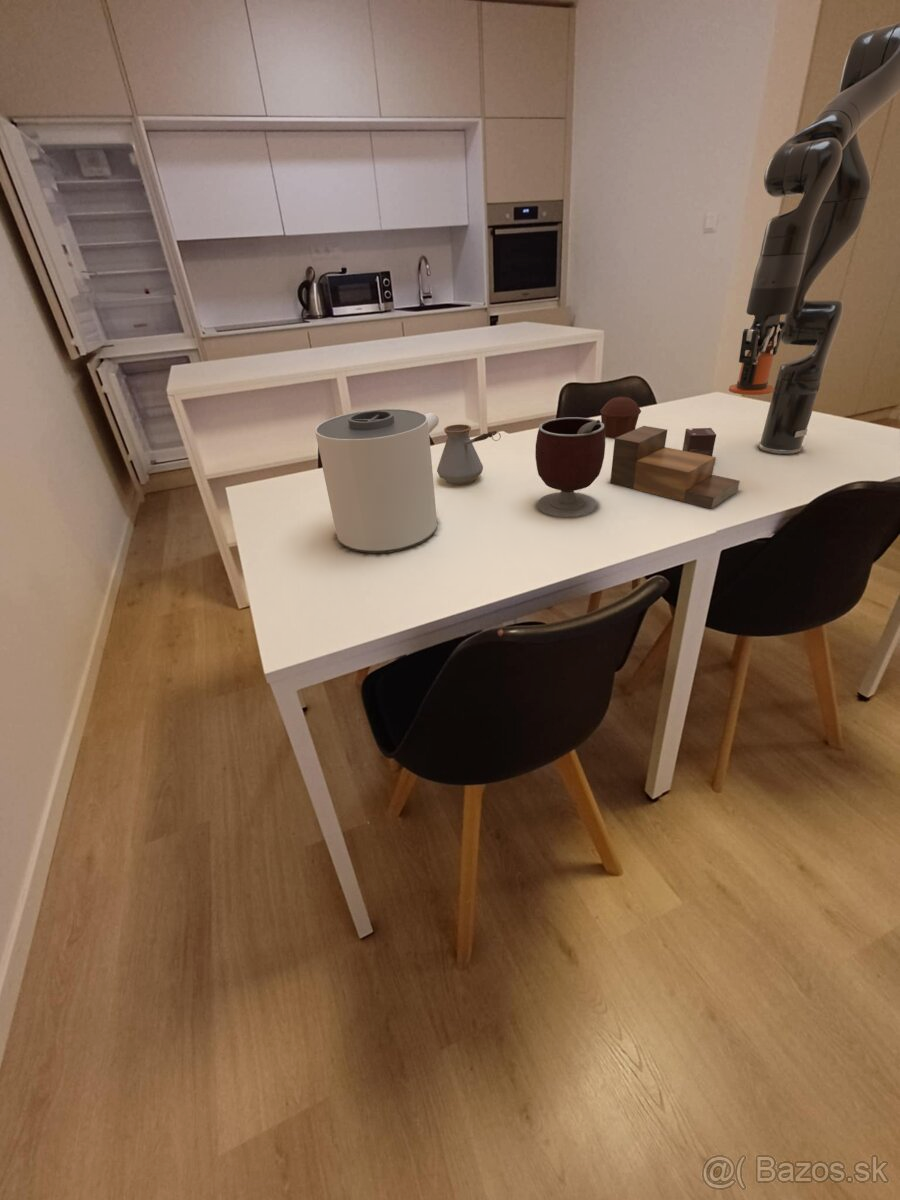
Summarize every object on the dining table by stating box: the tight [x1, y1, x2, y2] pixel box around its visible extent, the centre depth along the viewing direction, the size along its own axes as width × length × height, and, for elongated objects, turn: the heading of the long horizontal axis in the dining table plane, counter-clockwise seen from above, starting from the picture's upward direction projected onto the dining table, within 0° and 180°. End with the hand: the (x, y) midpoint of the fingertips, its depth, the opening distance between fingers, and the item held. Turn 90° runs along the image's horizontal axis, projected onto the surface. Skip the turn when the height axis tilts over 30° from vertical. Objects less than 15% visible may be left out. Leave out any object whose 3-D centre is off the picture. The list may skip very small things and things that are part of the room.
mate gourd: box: [534, 416, 606, 518], centre depth 108 cm, size 16×14×20 cm
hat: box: [728, 353, 775, 396], centre depth 104 cm, size 8×8×7 cm
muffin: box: [599, 396, 642, 439], centre depth 152 cm, size 12×11×10 cm
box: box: [681, 427, 717, 456], centre depth 129 cm, size 6×6×7 cm
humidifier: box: [314, 408, 440, 554], centre depth 104 cm, size 22×21×23 cm
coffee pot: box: [436, 423, 502, 486], centre depth 124 cm, size 21×12×15 cm, turn 33°
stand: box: [609, 425, 741, 510], centre depth 116 cm, size 12×24×10 cm, turn 42°
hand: (752, 382), depth 105 cm, fingers closed on hat, 5 cm apart
